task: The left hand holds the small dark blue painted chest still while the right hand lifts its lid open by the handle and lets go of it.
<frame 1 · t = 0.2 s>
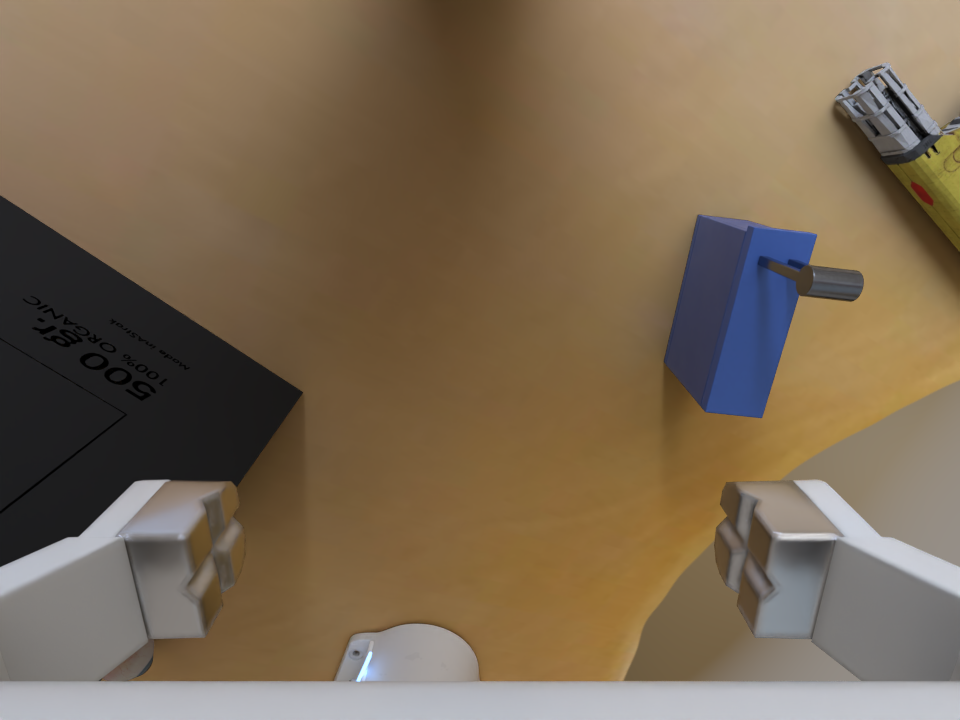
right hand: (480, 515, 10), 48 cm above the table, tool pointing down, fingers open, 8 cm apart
eyeball: (140, 631, 72), on the table
lid: (779, 342, 43), point 15 cm above the table, hinge at 0.0°
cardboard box: (88, 360, 60), on the table
chest: (704, 294, 58), on the table
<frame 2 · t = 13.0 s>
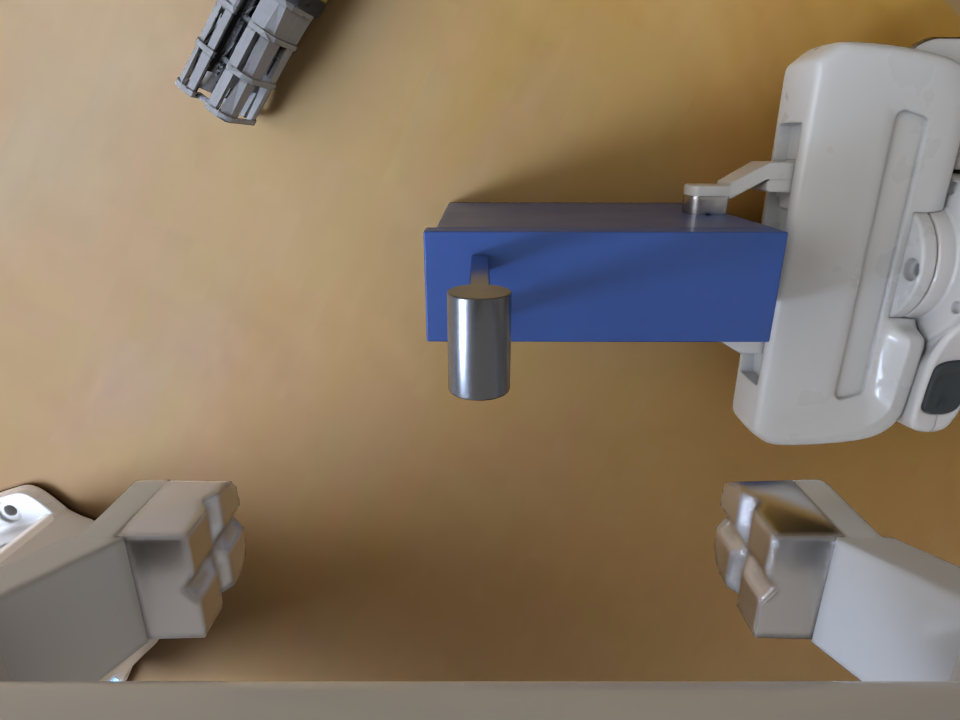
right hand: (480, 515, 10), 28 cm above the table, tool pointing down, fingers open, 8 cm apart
left hand: (678, 260, 32), fingers closed on chest, 5 cm apart
lid: (619, 310, 22), point 15 cm above the table, hinge at -0.1°
chest: (568, 243, 37), on the table, touching left hand
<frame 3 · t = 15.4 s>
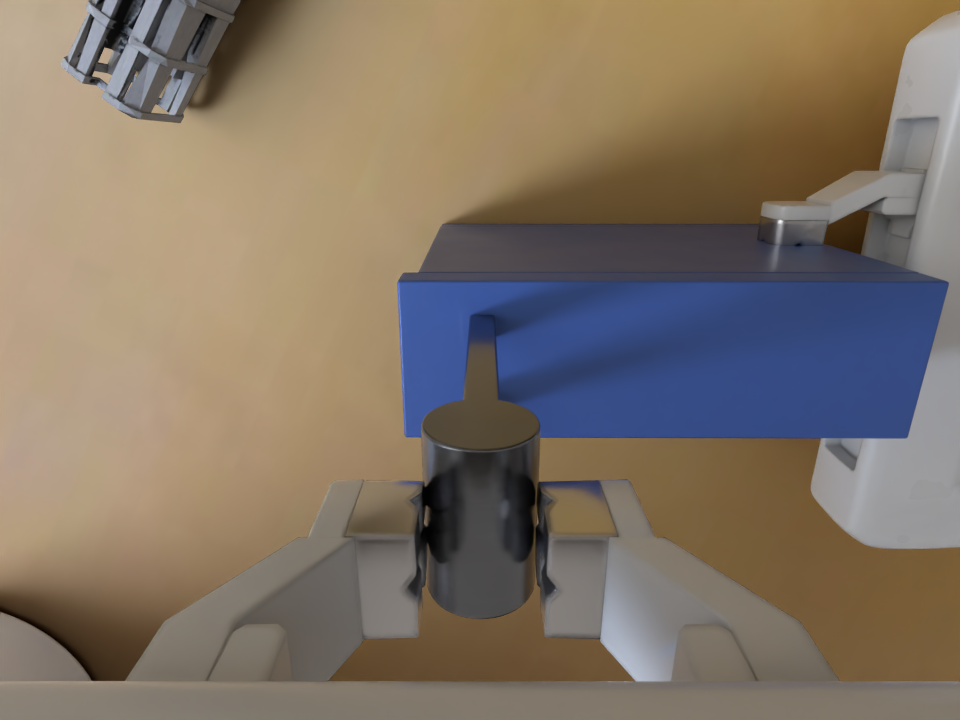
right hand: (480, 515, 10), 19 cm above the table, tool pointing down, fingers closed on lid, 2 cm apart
lid: (705, 416, 14), point 15 cm above the table, hinge at -0.2°, touching right hand
chest: (597, 275, 28), on the table, touching left hand
when the left hand's fingers open (5 cm above the table, at t = 22.9 s): chest stays where it is, on the table.
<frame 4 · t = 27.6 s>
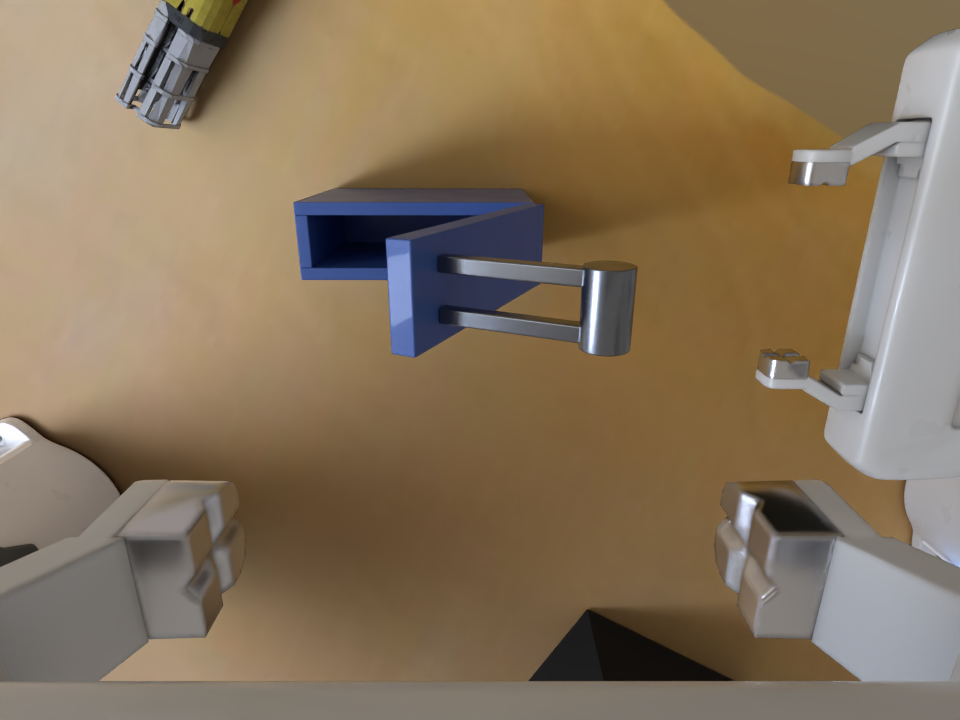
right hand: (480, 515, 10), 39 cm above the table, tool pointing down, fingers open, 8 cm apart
lid: (558, 273, 28), point 20 cm above the table, hinge at 64.6°
chest: (428, 220, 47), on the table
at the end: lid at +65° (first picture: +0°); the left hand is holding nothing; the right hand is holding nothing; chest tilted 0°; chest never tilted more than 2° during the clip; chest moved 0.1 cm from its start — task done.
